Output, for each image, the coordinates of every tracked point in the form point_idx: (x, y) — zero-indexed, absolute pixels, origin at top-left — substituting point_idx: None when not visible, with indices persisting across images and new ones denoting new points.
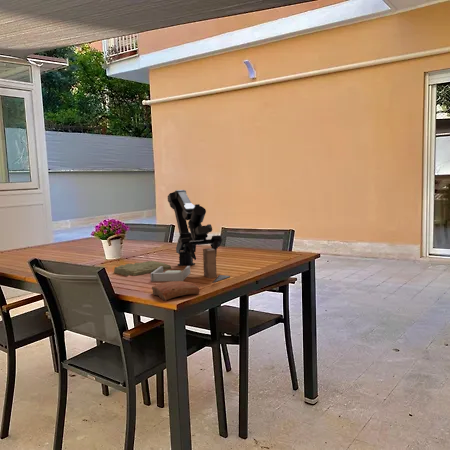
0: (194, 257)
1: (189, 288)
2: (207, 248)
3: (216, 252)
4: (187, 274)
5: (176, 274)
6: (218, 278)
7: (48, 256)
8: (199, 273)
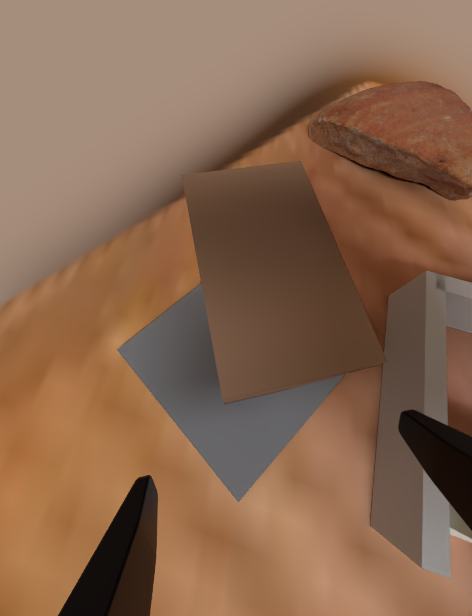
0: (432, 422)
1: (350, 96)
2: (294, 350)
3: (96, 550)
4: (393, 416)
5: (459, 283)
6: (200, 311)
7: None
8: (300, 567)
